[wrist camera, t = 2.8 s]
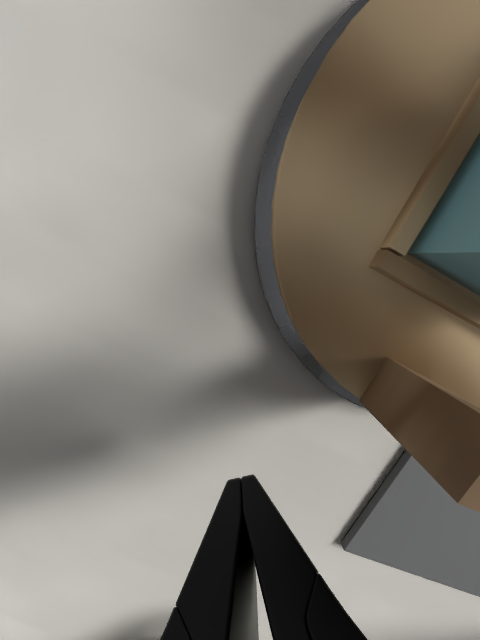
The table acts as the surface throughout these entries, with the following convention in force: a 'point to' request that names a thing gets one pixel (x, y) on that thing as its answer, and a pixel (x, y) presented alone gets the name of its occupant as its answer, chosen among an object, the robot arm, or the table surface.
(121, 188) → the table surface
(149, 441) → the table surface
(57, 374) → the table surface
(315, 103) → the turntable
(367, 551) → the mat
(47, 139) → the table surface
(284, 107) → the turntable base
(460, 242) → the blue cube with post
